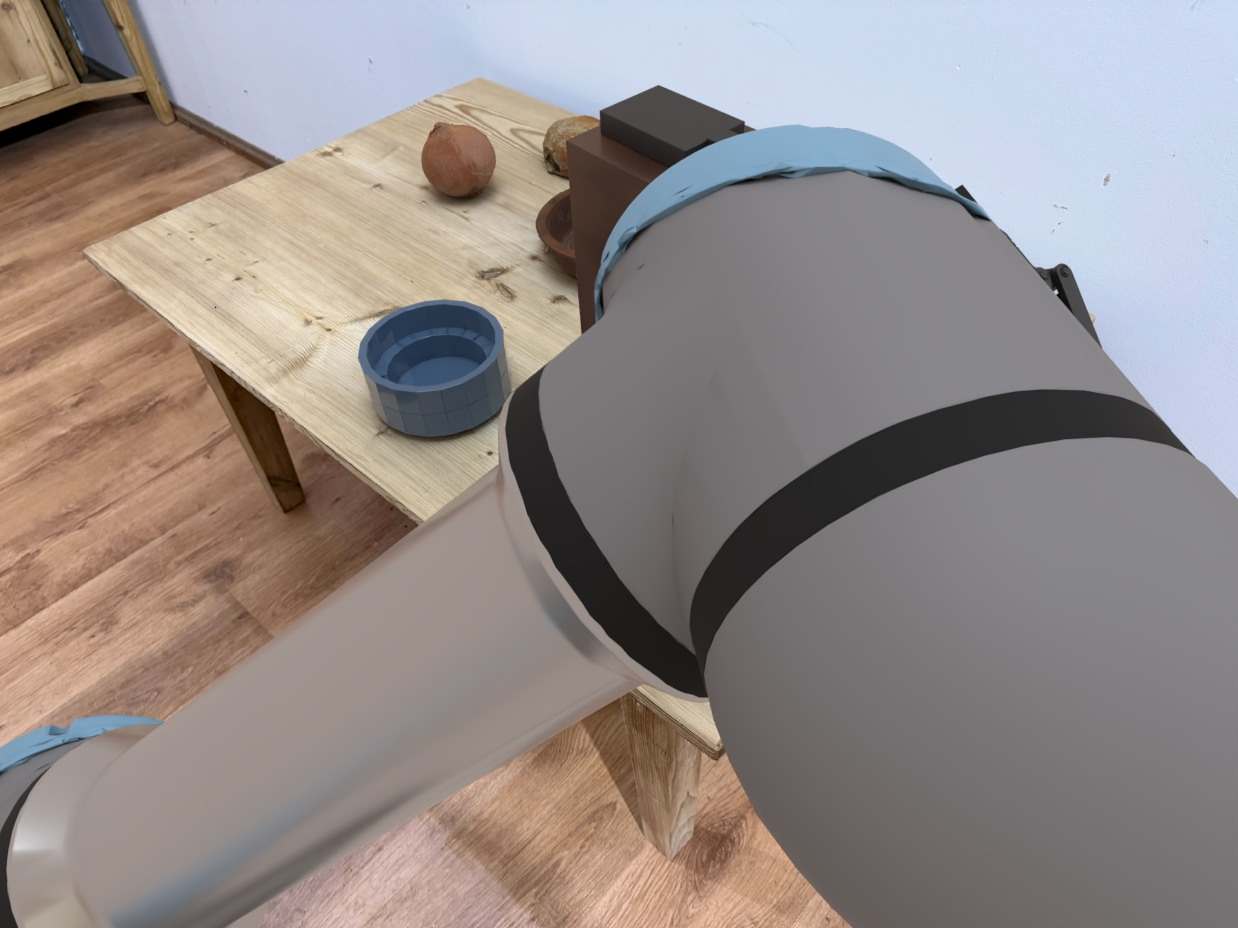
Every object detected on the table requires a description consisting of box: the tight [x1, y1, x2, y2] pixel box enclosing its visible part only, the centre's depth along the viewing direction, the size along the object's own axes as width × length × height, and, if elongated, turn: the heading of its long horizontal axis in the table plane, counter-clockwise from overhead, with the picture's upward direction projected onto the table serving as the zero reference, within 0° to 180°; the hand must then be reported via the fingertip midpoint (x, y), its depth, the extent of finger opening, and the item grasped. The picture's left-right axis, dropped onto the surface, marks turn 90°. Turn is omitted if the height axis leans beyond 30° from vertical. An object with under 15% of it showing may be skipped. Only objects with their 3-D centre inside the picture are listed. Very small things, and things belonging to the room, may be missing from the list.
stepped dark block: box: [599, 84, 746, 167], centre depth 53 cm, size 21×6×2 cm, turn 42°
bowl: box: [357, 298, 512, 438], centre depth 82 cm, size 14×14×6 cm
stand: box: [566, 124, 757, 336], centre depth 67 cm, size 12×10×30 cm
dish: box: [535, 187, 577, 279], centre depth 99 cm, size 18×22×5 cm
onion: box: [420, 121, 497, 199], centre depth 108 cm, size 10×9×10 cm
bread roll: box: [542, 114, 600, 178], centre depth 114 cm, size 10×10×8 cm
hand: (875, 243), depth 48 cm, fingers open, 13 cm apart
